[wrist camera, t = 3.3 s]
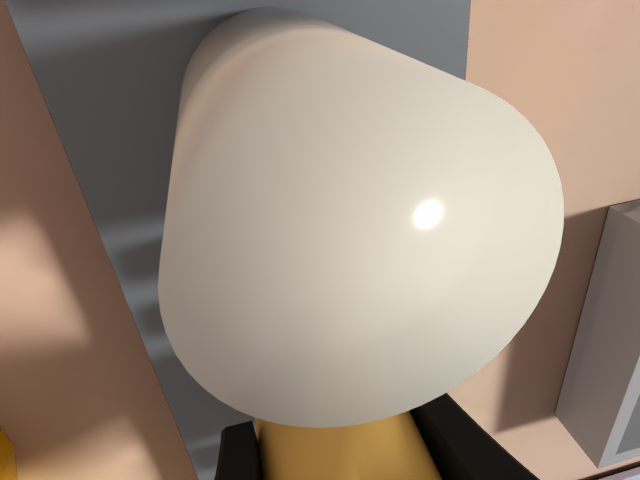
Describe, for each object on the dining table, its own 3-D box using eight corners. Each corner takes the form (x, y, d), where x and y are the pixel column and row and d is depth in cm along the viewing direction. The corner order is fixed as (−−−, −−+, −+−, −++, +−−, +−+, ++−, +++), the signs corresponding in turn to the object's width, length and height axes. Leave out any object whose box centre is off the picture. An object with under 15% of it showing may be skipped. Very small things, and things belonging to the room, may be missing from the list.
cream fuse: (367, 177, 10) (531, 379, 5) (204, 207, 10) (213, 463, 5) (359, -6, 8) (604, 38, 3) (156, 20, 8) (86, 115, 3)
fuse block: (420, 482, 20) (466, 587, 17) (235, 536, 19) (243, 660, 15) (439, -102, 9) (579, -142, 6) (11, -60, 8) (-119, -77, 5)
